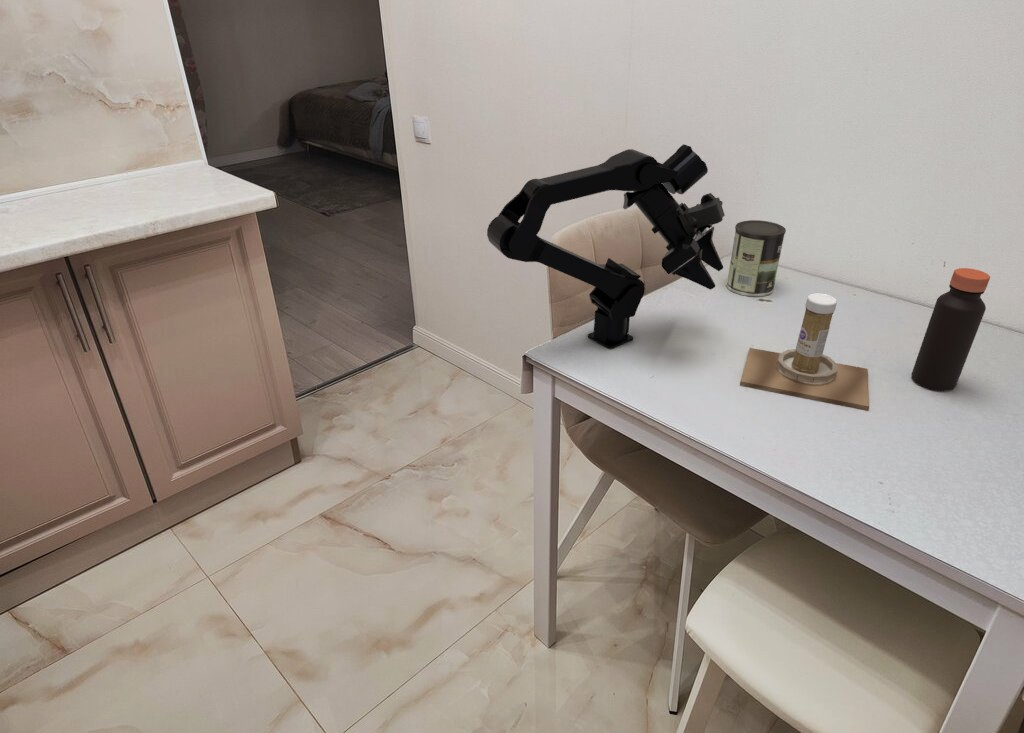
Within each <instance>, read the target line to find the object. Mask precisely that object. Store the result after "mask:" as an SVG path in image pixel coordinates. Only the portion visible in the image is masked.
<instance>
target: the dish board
mask: <svg viewBox="0 0 1024 733" xmlns="http://www.w3.org/2000/svg"><path fill="white" fill-rule="evenodd" d="M795 351H796V348H795V349H787V350H784V351H783V352H775V351H771V350H764V349H760V348H759V349H758V348H753V347H749V349H748V352H747V356H746V360H745V364H744V368H743V371H742V374H741V378H740V381H739V382H740V383H739V386H742V387H747V388H752V389H757V390H762V391H768V392H774V393H777V394H783V395H788V396H792V397H798V398H801V399H807V400H813V401H817V402H823V403H828V404H832V405H837V406H844V407H849V408H853V409H857V410H862V411H869V409H870V390H869V369H868V368H866V367H859V366H854V365H850V364H849V365H848V364H842V363H838V362H837V363H836V362H835V360H833V359H832V358H831V357H829V356H828V355H825V354H822V357H821V360H820V364H819V370H818V371H817V372H815V373H810V374H808V373H802V372H799V371H797V370H795V369H794V368H793V367H792V361H793V359H794V355H795Z"/></svg>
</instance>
